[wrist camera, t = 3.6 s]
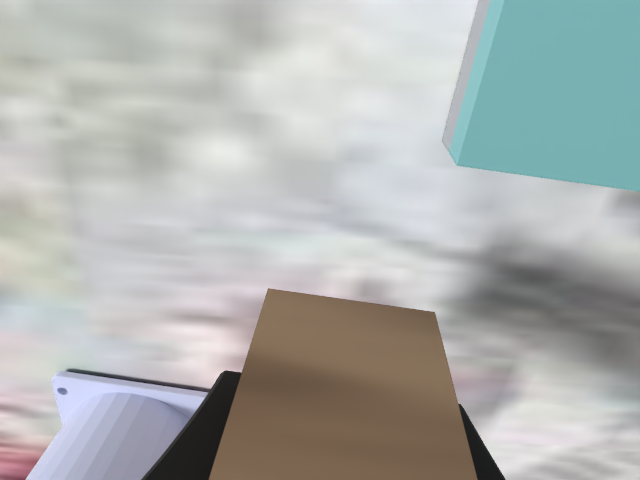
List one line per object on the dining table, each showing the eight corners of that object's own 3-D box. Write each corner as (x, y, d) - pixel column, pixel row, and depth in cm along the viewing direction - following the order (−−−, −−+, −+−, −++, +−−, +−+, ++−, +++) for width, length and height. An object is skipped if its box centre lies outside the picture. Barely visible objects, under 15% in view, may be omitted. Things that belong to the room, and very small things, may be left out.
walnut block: (399, 424, 12) (424, 659, 8) (259, 403, 12) (205, 626, 8) (434, 312, 10) (492, 540, 6) (267, 288, 10) (202, 497, 6)
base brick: (651, 170, 14) (704, 200, 12) (442, 140, 14) (456, 165, 12) (788, -92, 11) (895, -115, 9) (512, -129, 11) (550, -161, 9)
